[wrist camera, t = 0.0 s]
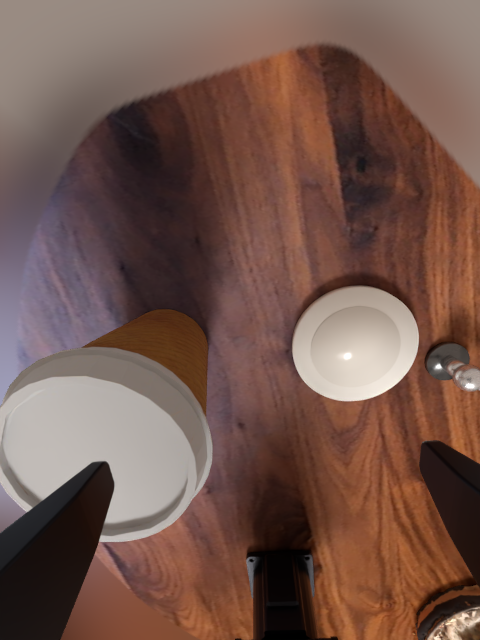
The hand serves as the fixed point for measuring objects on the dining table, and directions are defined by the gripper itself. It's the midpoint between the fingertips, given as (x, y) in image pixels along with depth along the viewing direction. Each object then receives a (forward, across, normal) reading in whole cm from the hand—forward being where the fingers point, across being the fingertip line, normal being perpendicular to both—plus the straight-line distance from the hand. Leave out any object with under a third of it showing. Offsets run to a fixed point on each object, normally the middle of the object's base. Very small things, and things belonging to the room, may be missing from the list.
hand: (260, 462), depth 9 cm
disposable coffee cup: (+15, +7, +2) cm, 17 cm away
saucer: (+15, -7, +3) cm, 17 cm away
